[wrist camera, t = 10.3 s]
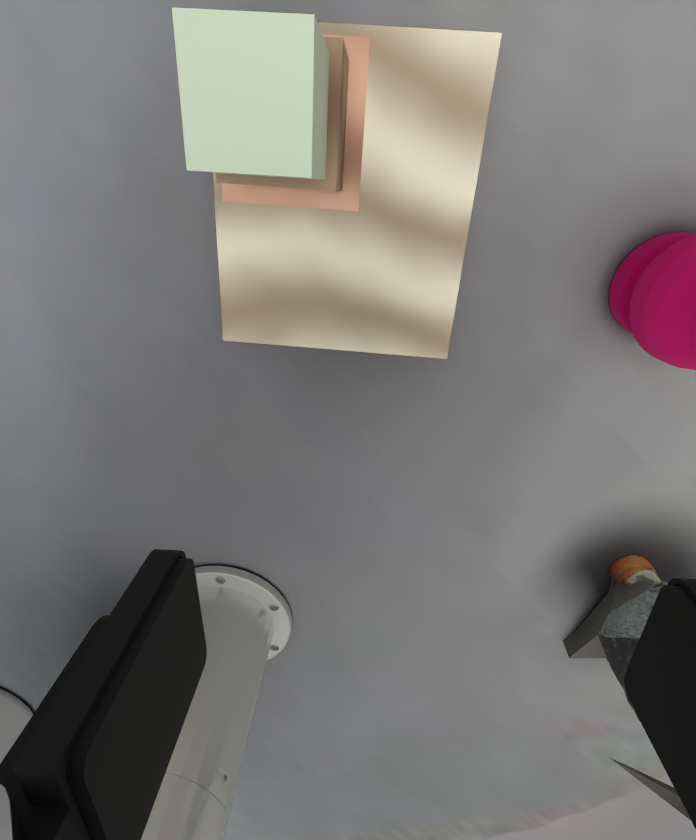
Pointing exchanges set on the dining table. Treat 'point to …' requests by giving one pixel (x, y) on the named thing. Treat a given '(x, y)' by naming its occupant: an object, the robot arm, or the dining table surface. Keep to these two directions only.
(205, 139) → the sage block
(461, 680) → the dining table surface
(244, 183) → the walnut base block
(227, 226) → the cream wavy board
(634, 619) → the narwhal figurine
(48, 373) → the dining table surface
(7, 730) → the cylinder vase
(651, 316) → the pepper mill
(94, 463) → the dining table surface
